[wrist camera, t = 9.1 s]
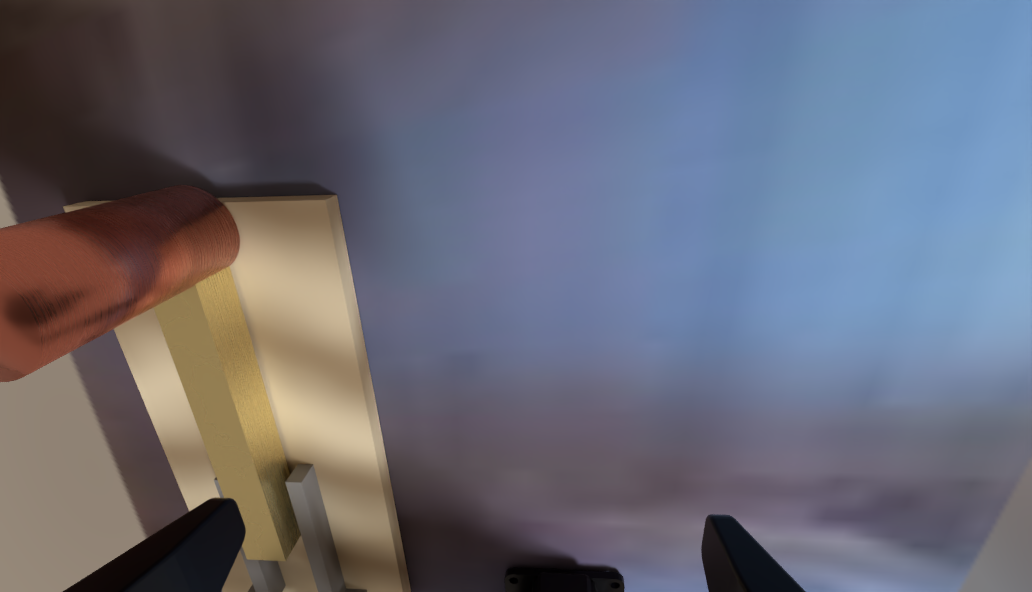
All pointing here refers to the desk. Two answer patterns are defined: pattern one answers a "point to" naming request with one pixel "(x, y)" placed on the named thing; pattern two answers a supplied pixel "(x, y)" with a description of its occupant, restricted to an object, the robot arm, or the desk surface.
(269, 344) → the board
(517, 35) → the desk surface
